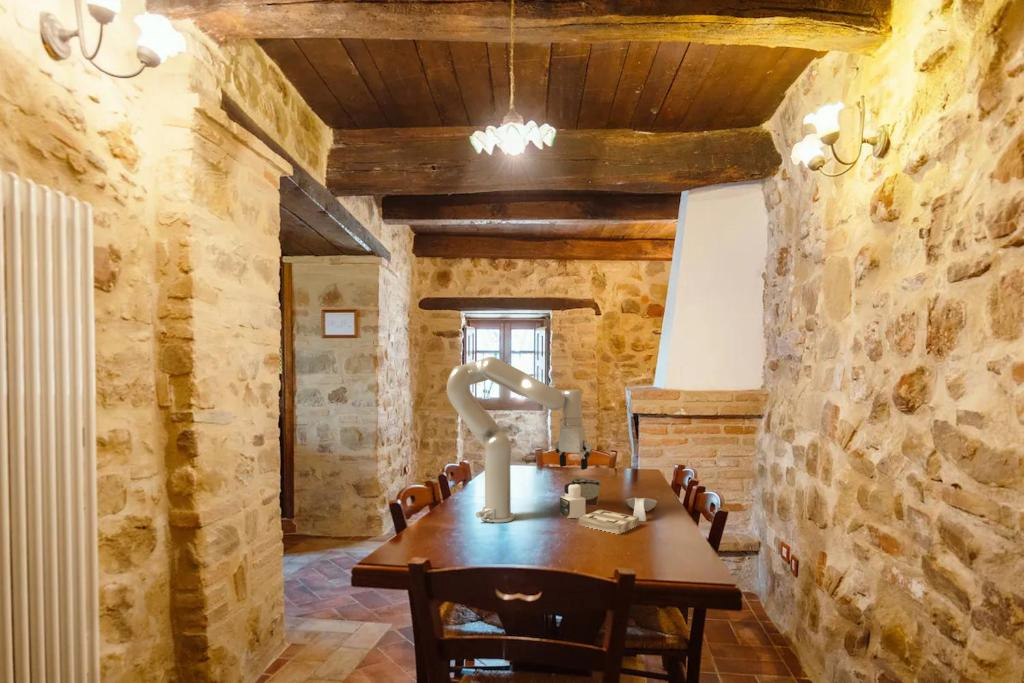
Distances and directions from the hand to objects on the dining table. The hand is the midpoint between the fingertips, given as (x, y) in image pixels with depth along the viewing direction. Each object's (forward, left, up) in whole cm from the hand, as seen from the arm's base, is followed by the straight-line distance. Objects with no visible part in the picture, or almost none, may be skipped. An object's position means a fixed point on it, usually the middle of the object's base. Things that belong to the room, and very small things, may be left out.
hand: (573, 467), depth 207 cm
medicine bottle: (0, 0, -18) cm, 18 cm away
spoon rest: (+20, -17, -19) cm, 32 cm away
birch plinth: (-2, -17, -18) cm, 25 cm away
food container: (+19, +7, -18) cm, 27 cm away
